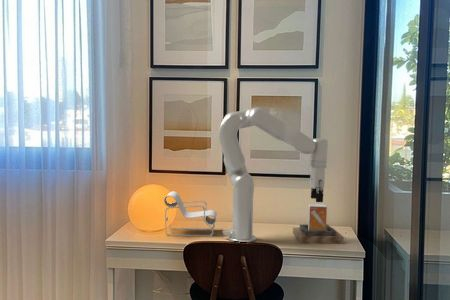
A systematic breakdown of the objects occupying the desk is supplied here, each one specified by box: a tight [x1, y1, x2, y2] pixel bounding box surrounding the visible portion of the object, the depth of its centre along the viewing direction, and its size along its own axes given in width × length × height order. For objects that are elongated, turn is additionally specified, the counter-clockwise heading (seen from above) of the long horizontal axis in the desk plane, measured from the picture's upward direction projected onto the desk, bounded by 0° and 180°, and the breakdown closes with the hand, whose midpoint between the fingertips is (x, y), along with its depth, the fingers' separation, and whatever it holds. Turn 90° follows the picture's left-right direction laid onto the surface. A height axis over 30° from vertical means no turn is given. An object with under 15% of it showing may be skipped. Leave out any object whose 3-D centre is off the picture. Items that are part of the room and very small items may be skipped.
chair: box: [163, 190, 217, 237], centre depth 219 cm, size 13×25×20 cm, turn 89°
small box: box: [307, 203, 328, 231], centre depth 210 cm, size 8×6×13 cm
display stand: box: [292, 224, 345, 244], centre depth 211 cm, size 20×18×5 cm
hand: (316, 200), depth 209 cm, fingers open, 9 cm apart
